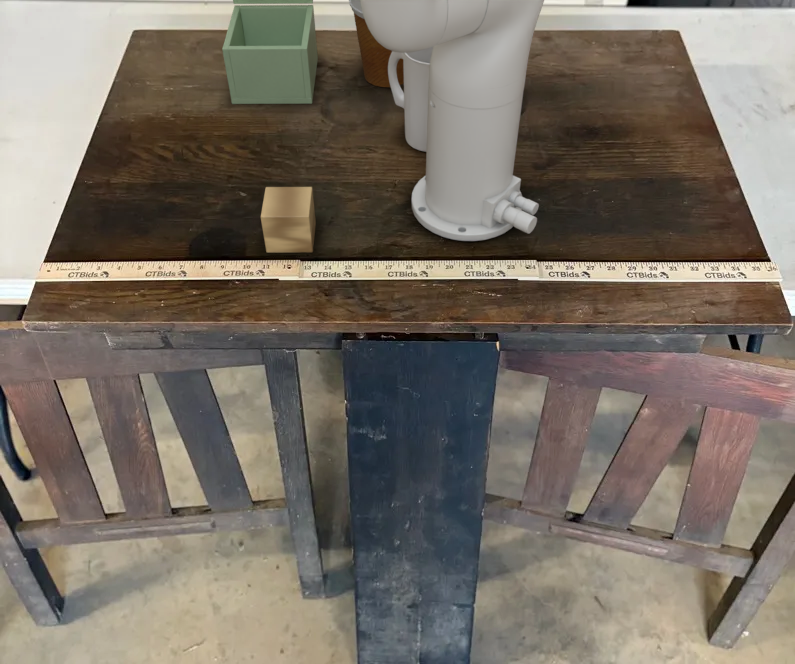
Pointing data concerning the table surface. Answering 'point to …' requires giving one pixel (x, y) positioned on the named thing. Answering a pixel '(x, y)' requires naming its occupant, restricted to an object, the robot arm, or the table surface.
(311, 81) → the chest
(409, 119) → the mug
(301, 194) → the block
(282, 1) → the lid
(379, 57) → the disposable coffee cup
